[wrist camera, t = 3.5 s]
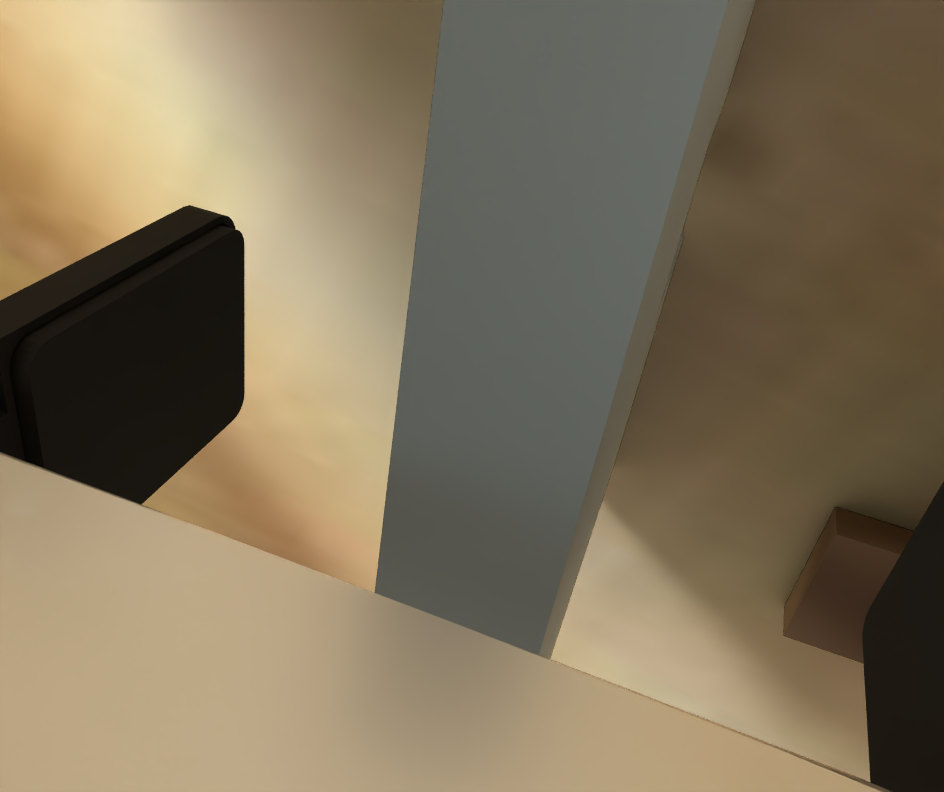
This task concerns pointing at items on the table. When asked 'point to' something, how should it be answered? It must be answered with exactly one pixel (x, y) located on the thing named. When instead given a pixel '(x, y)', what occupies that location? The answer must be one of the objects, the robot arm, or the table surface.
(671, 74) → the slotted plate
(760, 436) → the table surface
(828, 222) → the table surface
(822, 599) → the slotted board
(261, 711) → the robot arm
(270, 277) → the table surface
